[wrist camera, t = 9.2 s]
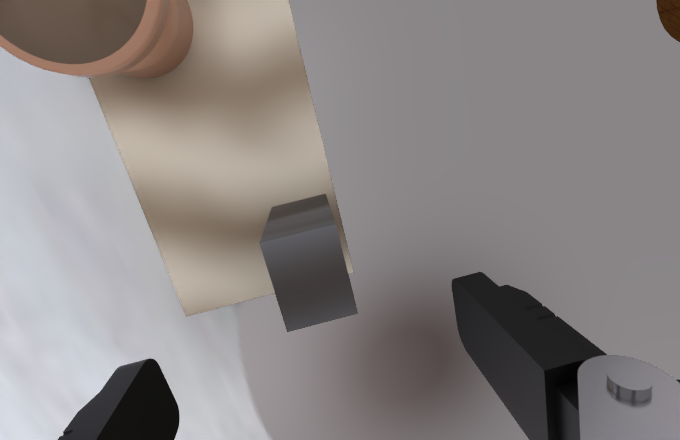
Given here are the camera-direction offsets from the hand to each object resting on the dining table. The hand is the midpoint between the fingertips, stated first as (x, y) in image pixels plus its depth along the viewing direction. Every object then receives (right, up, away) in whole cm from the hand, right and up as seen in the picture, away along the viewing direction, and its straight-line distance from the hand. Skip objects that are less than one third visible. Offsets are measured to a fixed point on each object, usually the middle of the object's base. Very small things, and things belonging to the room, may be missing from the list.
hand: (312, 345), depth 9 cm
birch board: (-6, +11, +9) cm, 15 cm away
